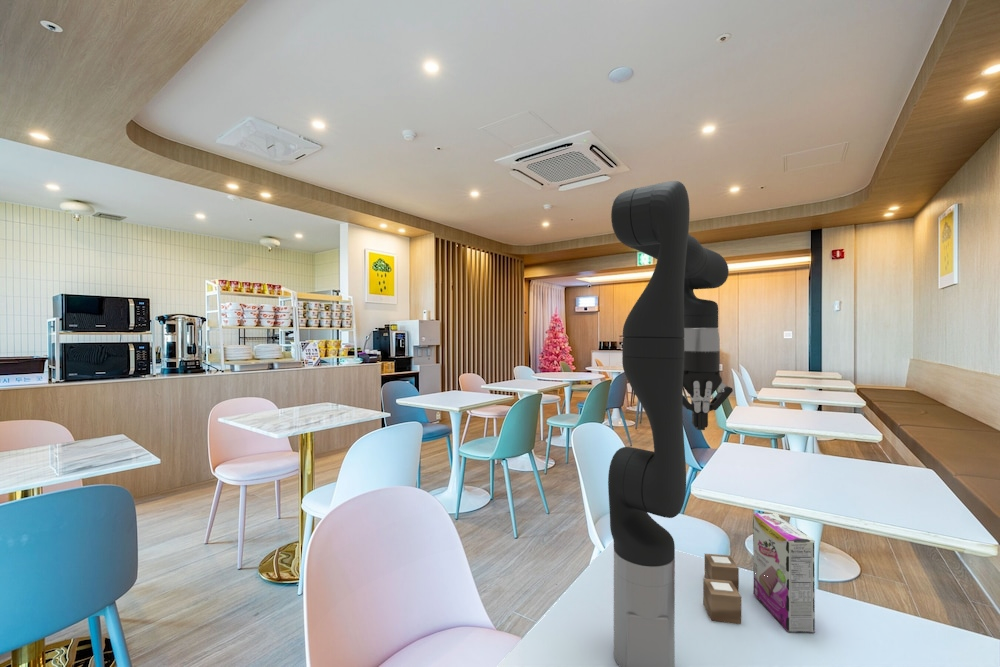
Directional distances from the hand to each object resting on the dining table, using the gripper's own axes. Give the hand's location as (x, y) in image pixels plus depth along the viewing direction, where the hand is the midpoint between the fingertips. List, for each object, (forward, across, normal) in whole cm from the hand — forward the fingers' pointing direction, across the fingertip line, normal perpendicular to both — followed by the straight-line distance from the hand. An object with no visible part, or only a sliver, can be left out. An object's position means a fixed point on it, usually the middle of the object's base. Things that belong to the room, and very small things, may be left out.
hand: (700, 429), depth 94 cm
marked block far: (+31, +3, -4) cm, 31 cm away
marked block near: (+31, 0, -14) cm, 34 cm away
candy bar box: (+31, +11, -12) cm, 35 cm away
